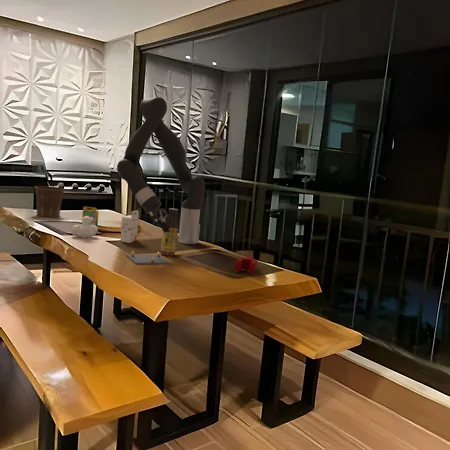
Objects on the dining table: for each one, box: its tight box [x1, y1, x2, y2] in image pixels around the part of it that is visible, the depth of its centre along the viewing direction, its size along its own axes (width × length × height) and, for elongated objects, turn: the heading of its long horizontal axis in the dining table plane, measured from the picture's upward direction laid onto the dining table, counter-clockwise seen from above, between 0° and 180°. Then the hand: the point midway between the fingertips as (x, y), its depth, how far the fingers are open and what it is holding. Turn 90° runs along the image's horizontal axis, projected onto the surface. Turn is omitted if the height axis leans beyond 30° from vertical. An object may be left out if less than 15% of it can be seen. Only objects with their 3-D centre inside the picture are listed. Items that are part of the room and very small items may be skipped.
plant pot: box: [34, 185, 66, 218], centre depth 265 cm, size 16×16×16 cm
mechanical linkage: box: [234, 255, 258, 275], centre depth 186 cm, size 16×7×5 cm, turn 168°
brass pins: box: [130, 250, 161, 263], centre depth 183 cm, size 12×10×2 cm
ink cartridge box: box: [120, 209, 139, 244], centre depth 218 cm, size 9×5×15 cm, turn 168°
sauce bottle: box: [160, 207, 179, 257], centre depth 197 cm, size 7×6×20 cm
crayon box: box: [81, 206, 99, 228], centre depth 237 cm, size 7×3×12 cm, turn 84°
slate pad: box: [125, 253, 171, 265], centre depth 184 cm, size 14×14×1 cm
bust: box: [71, 216, 99, 239], centre depth 214 cm, size 12×8×11 cm
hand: (170, 230), depth 197 cm, fingers open, 8 cm apart
